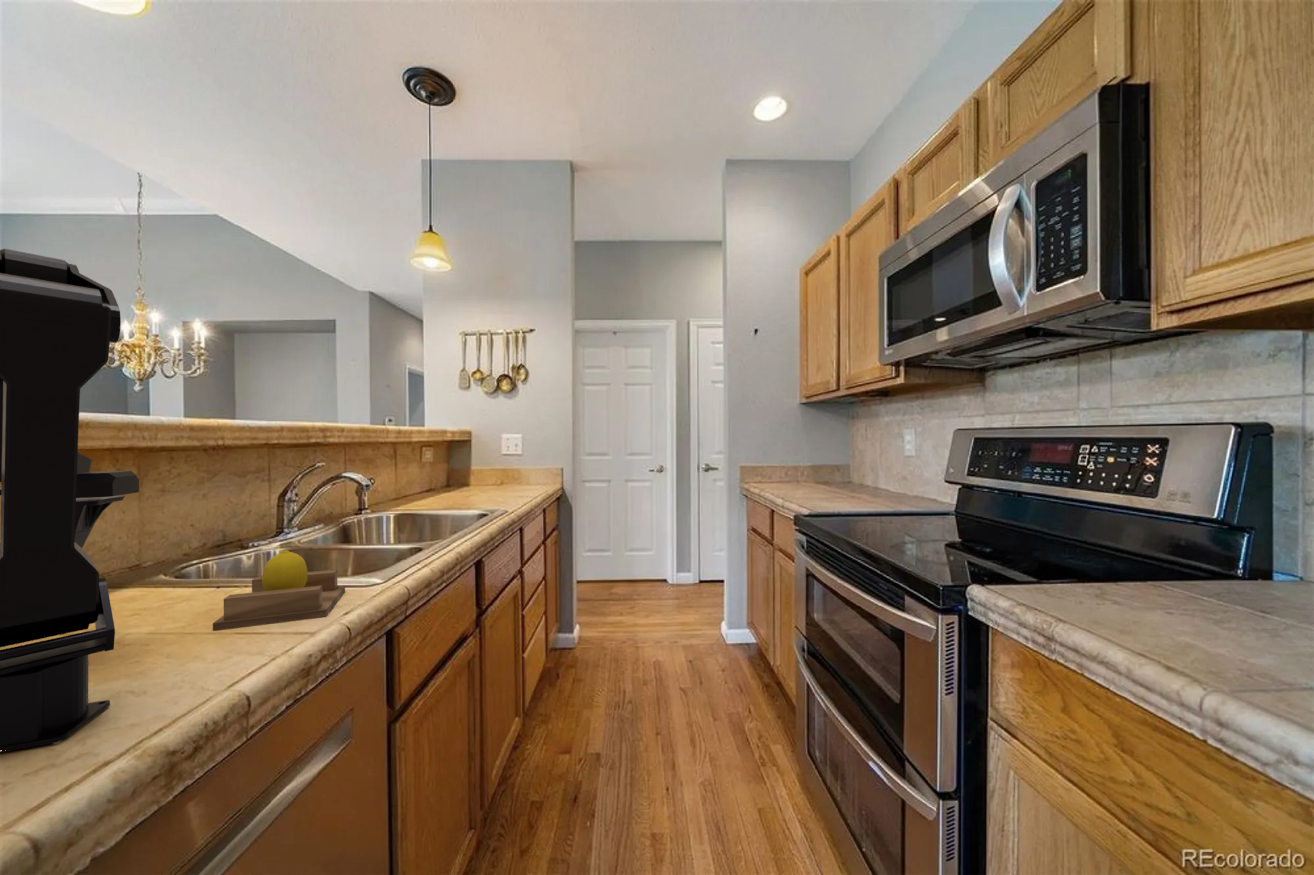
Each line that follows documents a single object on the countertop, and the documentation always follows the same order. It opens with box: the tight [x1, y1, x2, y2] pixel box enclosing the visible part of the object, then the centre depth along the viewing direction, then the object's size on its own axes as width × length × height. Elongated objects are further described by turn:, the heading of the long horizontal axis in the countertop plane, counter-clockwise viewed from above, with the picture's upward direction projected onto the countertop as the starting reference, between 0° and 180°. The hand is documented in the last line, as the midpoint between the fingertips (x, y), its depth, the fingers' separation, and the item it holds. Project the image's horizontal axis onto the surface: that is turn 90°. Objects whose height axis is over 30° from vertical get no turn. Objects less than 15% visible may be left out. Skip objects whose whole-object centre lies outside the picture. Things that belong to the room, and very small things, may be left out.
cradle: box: [212, 569, 346, 631], centre depth 74 cm, size 13×13×4 cm
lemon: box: [262, 549, 309, 591], centre depth 74 cm, size 6×6×8 cm
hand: (15, 563), depth 55 cm, fingers open, 9 cm apart
